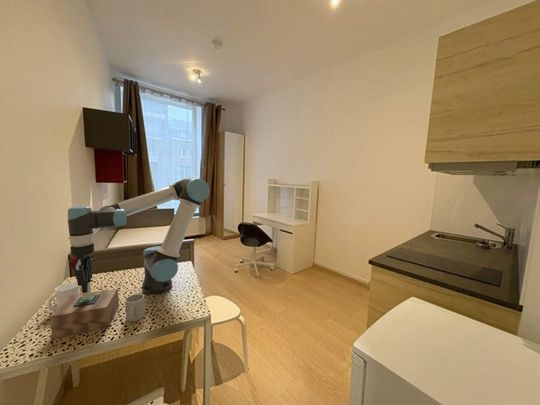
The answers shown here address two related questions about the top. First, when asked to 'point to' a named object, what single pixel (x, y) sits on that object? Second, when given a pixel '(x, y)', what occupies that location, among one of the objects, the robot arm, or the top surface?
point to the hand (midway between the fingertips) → (86, 298)
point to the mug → (63, 294)
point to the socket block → (84, 313)
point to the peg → (87, 300)
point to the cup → (135, 307)
